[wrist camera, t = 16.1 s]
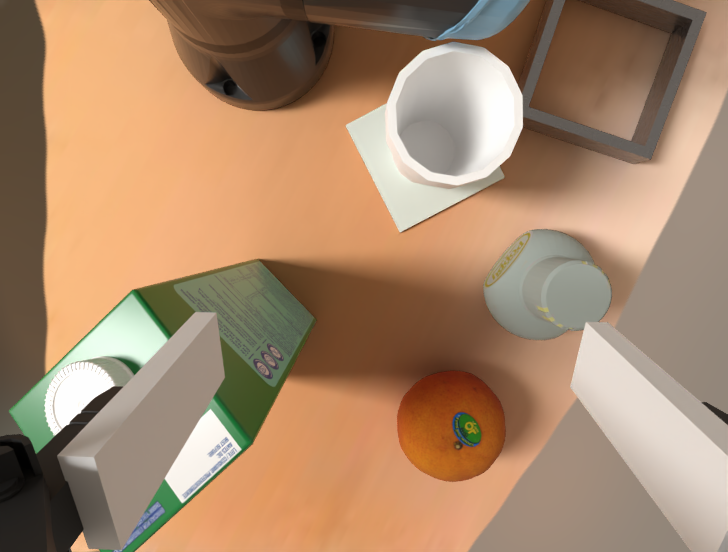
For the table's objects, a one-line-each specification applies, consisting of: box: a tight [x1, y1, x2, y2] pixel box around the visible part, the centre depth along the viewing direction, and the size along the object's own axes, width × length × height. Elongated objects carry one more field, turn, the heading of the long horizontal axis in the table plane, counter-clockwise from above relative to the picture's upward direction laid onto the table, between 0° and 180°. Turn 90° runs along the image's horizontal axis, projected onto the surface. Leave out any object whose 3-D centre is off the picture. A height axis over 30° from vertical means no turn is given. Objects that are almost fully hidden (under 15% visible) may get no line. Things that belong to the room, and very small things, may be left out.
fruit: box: [397, 371, 506, 482], centre depth 40 cm, size 11×10×8 cm
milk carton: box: [9, 259, 316, 552], centre depth 30 cm, size 9×9×25 cm
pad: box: [346, 103, 505, 232], centre depth 40 cm, size 12×12×1 cm
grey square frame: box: [518, 0, 707, 164], centre depth 39 cm, size 14×14×2 cm
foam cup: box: [385, 42, 523, 189], centre depth 34 cm, size 10×9×13 cm
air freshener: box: [483, 229, 612, 340], centre depth 37 cm, size 11×8×10 cm
